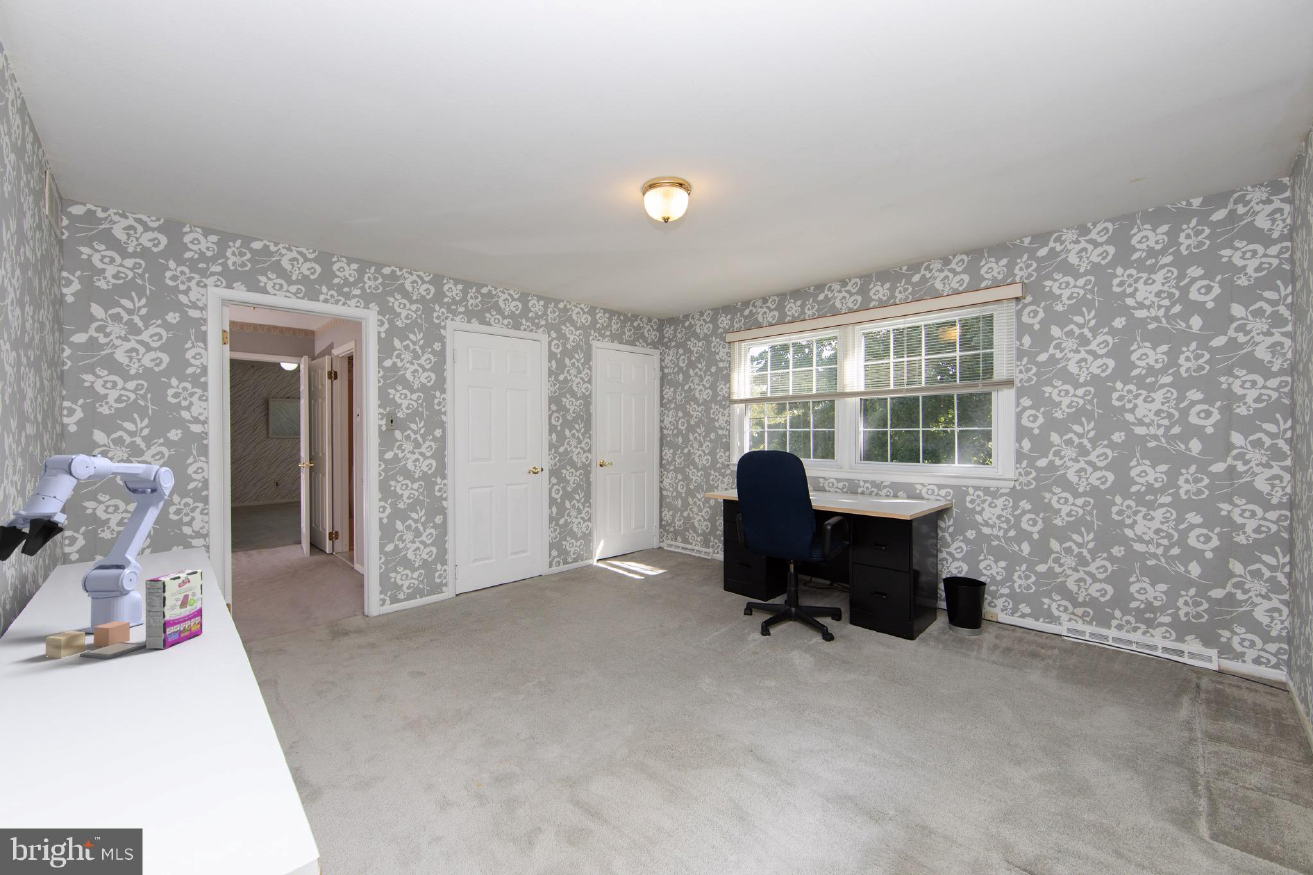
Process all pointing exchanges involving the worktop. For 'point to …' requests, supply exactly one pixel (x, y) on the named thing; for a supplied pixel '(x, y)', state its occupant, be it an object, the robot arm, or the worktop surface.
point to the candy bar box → (173, 608)
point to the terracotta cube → (111, 633)
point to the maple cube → (65, 644)
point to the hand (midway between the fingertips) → (12, 557)
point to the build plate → (113, 650)
